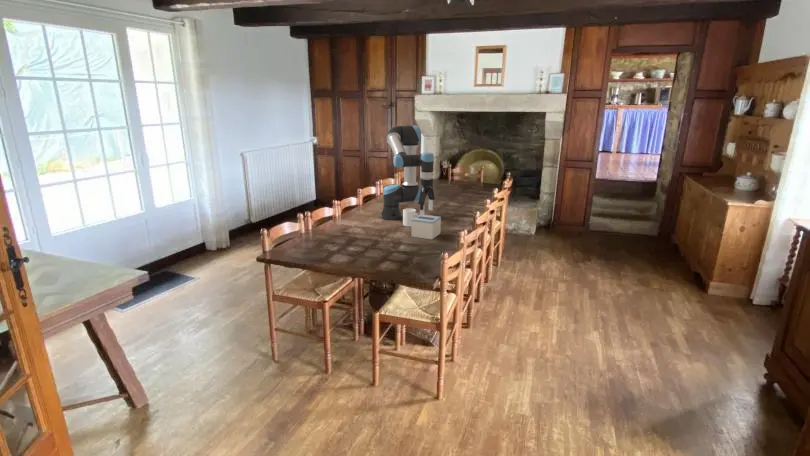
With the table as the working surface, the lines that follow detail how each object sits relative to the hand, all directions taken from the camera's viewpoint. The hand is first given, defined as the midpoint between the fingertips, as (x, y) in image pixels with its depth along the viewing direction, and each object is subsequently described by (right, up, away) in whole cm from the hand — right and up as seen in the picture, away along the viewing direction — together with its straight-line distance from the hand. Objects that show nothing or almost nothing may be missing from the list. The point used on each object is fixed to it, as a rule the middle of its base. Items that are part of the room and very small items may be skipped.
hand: (426, 212), depth 268 cm
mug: (-9, -8, +24) cm, 27 cm away
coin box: (0, -14, +4) cm, 15 cm away
